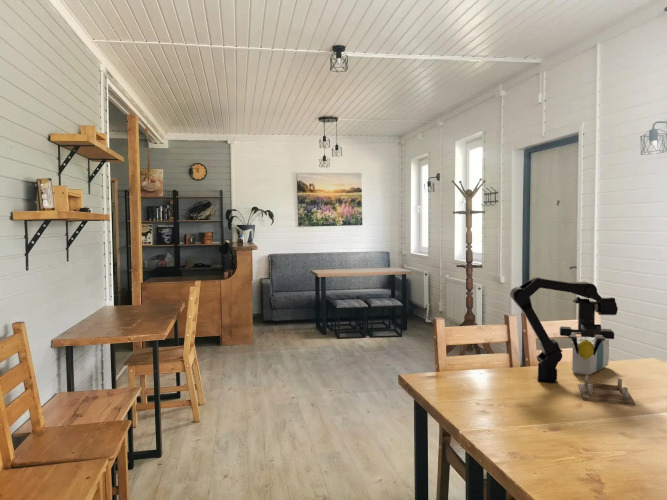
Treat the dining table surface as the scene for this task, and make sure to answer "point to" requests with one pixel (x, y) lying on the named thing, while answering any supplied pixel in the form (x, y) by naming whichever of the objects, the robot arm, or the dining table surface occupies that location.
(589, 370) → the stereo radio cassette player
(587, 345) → the lemon
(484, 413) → the dining table surface
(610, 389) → the cradle tray
